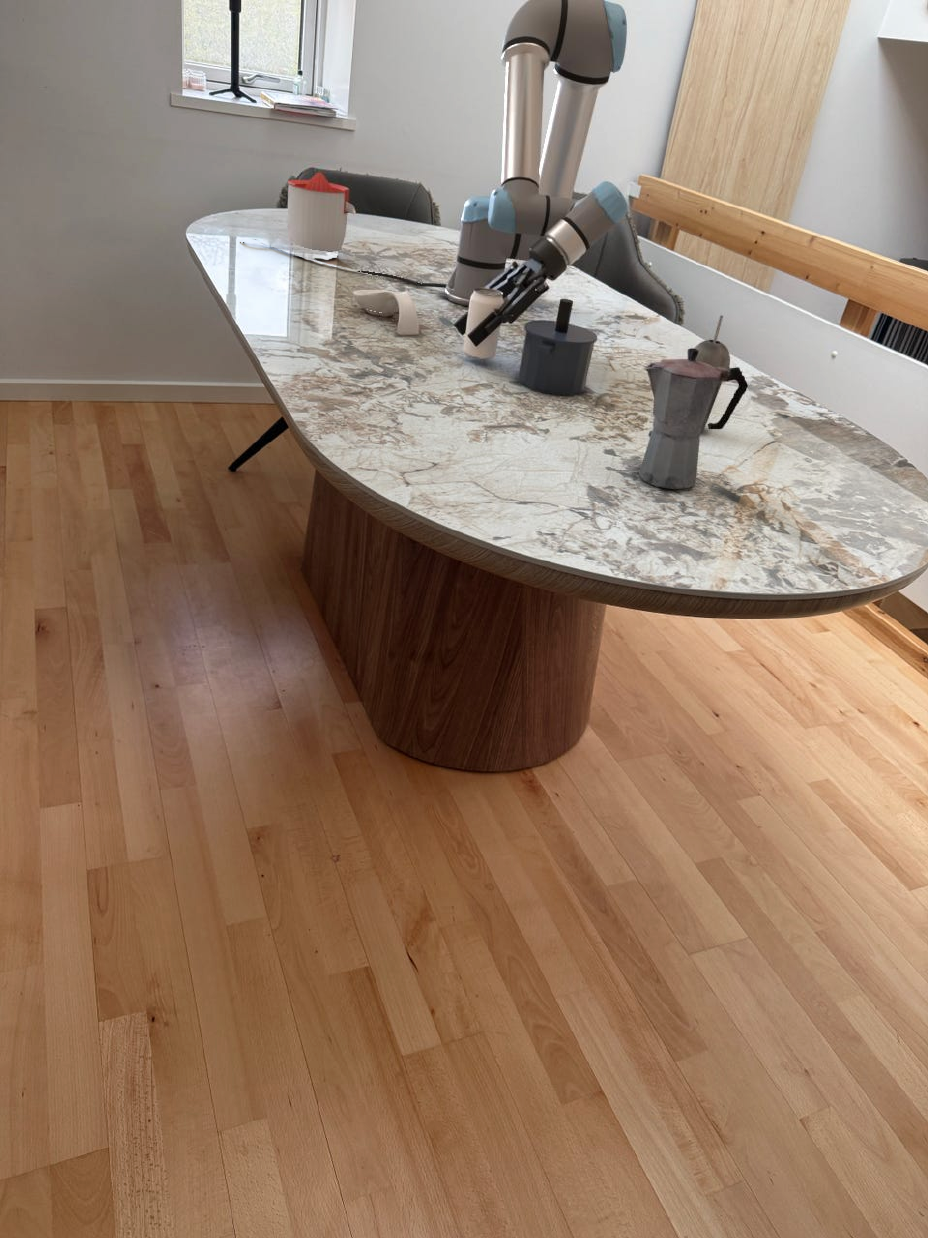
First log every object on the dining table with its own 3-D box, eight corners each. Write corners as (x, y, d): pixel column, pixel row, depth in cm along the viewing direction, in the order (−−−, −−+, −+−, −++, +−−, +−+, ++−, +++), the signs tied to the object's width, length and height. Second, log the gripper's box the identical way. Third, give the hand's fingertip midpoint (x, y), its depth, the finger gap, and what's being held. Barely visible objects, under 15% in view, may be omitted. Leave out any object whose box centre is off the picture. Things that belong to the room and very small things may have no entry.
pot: (503, 386, 170) (511, 334, 165) (535, 365, 185) (544, 317, 180) (567, 404, 167) (578, 351, 162) (595, 381, 181) (606, 332, 176)
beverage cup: (713, 427, 167) (745, 314, 157) (708, 439, 161) (742, 323, 151) (673, 417, 169) (703, 305, 158) (667, 429, 163) (698, 313, 152)
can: (492, 361, 178) (502, 297, 172) (459, 355, 179) (468, 291, 172) (498, 353, 184) (507, 291, 177) (466, 347, 184) (474, 284, 178)
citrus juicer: (348, 267, 236) (354, 181, 226) (279, 257, 235) (282, 170, 225) (355, 255, 250) (361, 174, 239) (290, 245, 248) (293, 163, 238)
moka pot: (613, 461, 146) (643, 334, 135) (706, 471, 148) (743, 346, 137) (627, 487, 137) (660, 353, 127) (725, 496, 140) (766, 366, 129)
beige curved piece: (344, 303, 205) (346, 270, 201) (393, 305, 210) (397, 272, 206) (383, 336, 187) (386, 299, 184) (435, 336, 192) (440, 301, 189)
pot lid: (512, 335, 168) (518, 297, 164) (537, 321, 179) (544, 286, 175) (583, 353, 164) (591, 315, 160) (604, 338, 175) (612, 302, 171)
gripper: (589, 279, 171) (494, 365, 173) (543, 255, 185) (457, 334, 188) (569, 247, 166) (472, 336, 168) (524, 225, 181) (436, 306, 183)
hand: (464, 335), depth 178 cm, fingers closed on can, 6 cm apart
